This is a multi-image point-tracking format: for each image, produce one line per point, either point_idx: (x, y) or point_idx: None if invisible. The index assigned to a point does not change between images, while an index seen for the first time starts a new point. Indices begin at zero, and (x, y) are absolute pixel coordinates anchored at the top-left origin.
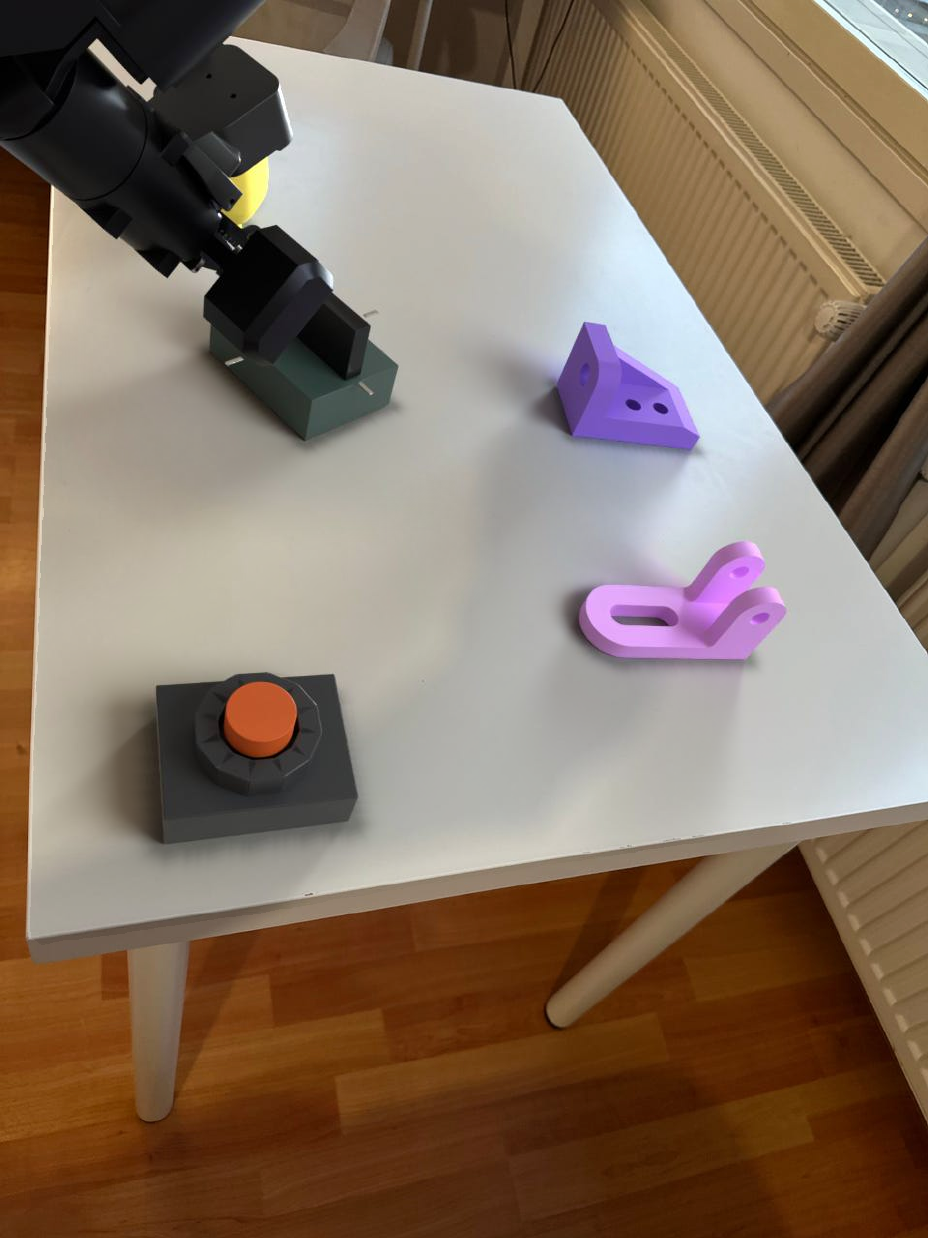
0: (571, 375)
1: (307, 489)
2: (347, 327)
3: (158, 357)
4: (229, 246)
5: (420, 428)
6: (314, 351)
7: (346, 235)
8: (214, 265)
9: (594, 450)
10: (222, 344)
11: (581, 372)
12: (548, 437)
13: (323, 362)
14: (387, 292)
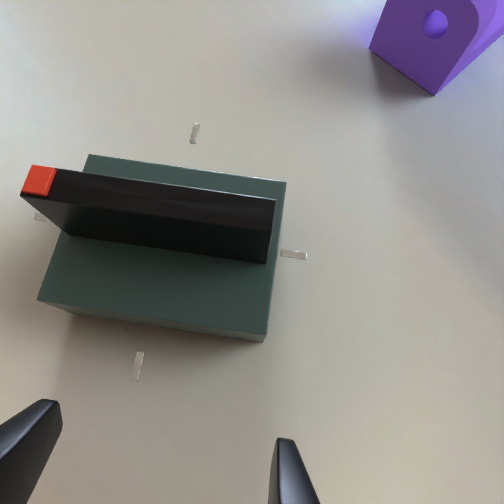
0: (400, 32)
1: (323, 408)
2: (253, 231)
3: (33, 377)
4: (8, 456)
5: (329, 214)
6: (199, 253)
7: (56, 32)
8: (20, 502)
9: (462, 96)
10: (85, 312)
11: (423, 24)
12: (421, 116)
13: (220, 258)
14: (151, 70)
